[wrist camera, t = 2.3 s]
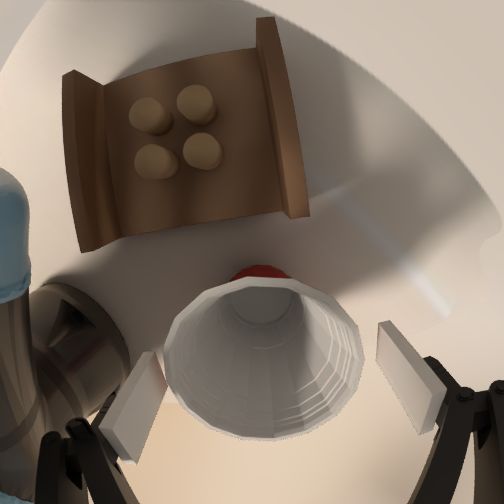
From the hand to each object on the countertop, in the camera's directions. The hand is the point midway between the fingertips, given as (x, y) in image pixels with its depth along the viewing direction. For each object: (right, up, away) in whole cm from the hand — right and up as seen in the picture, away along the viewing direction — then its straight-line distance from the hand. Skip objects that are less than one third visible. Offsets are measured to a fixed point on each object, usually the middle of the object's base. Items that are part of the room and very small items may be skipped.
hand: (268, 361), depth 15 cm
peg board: (-6, +15, +7) cm, 18 cm away
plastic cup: (0, +3, +10) cm, 10 cm away
